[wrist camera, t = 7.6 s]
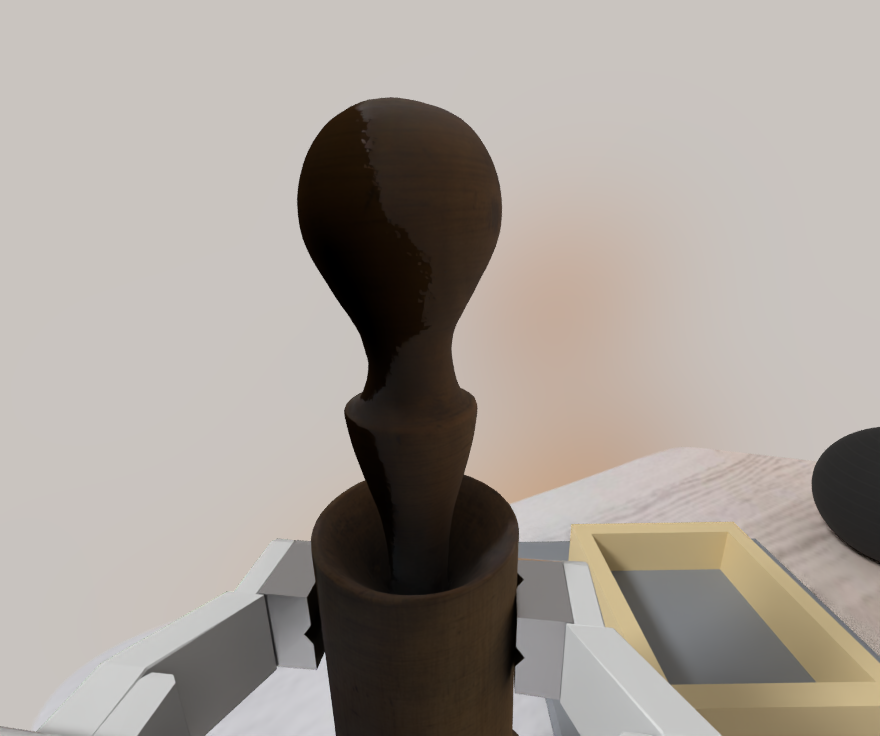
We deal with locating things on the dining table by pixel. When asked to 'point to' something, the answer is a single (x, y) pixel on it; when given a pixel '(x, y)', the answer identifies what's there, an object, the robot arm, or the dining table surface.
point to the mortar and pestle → (410, 430)
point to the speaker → (851, 490)
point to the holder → (725, 629)
